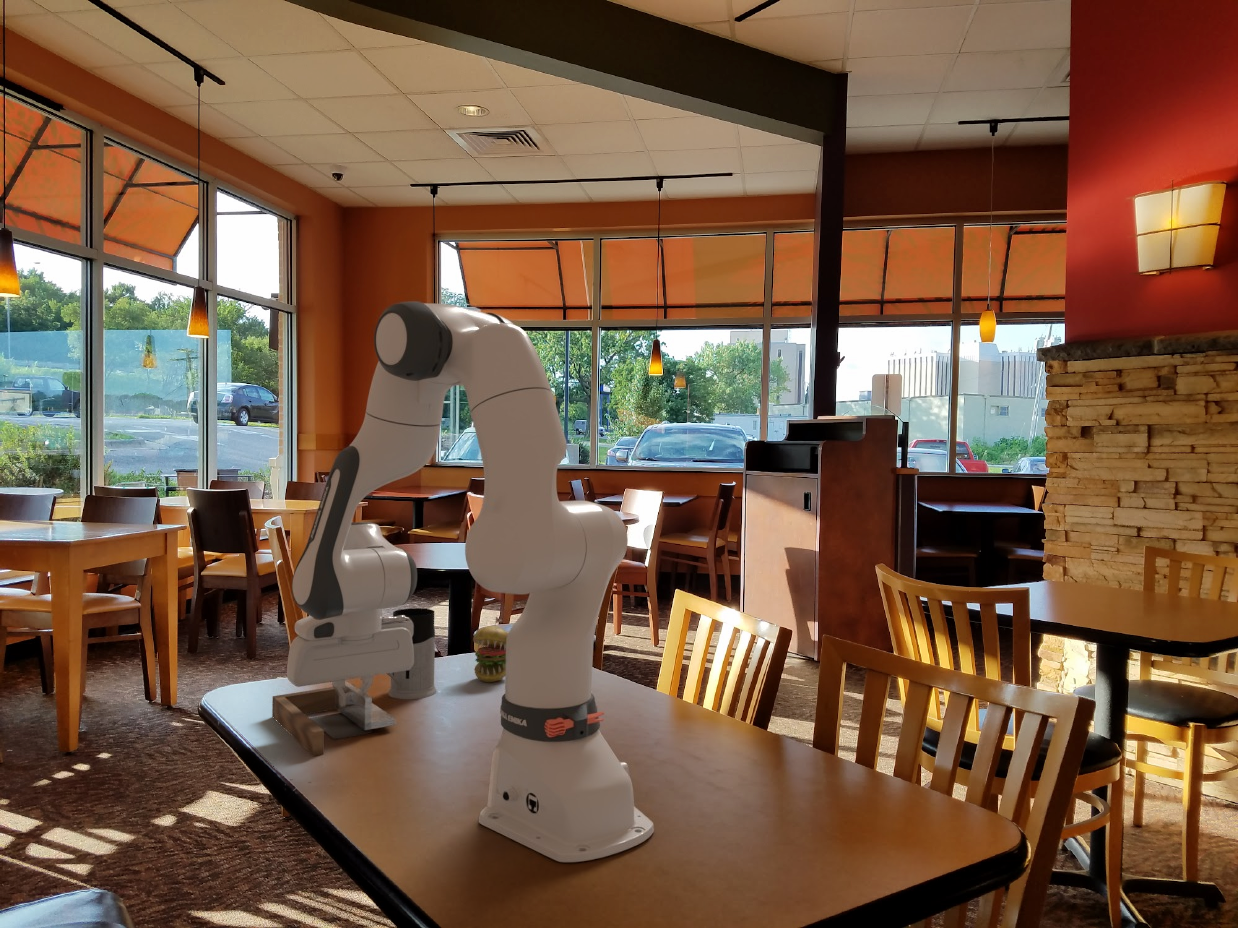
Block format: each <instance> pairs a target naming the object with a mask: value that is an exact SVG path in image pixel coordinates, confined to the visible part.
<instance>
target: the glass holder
mask: <svg viewBox="0 0 1238 928" xmlns="http://www.w3.org/2000/svg"><path fill="white" fill-rule="evenodd" d="M399 615H404V616H406V617H407V618H410V619H411V620H412V622H413V636H412V642H413V649H414V664H413V666H412V667H411V669H410V670H406V671H400V672H393V673H387V674H386V675H388V677H390V687H389V690H388V691H387V695H388V696H389V697H391V698H394V699H399V700H418V699H424V698H428V697H431V696H434V695H435V694H437V688H436V687H435V686H436V685H435V656H436V655H435V653H436V650H435V648H436V631H435V610H433V609H429V608H420V607H419V608H417V607H413V608H402V609H398V610H393V613H392V617H396V616H399ZM406 621H408V620H406Z"/></svg>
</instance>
